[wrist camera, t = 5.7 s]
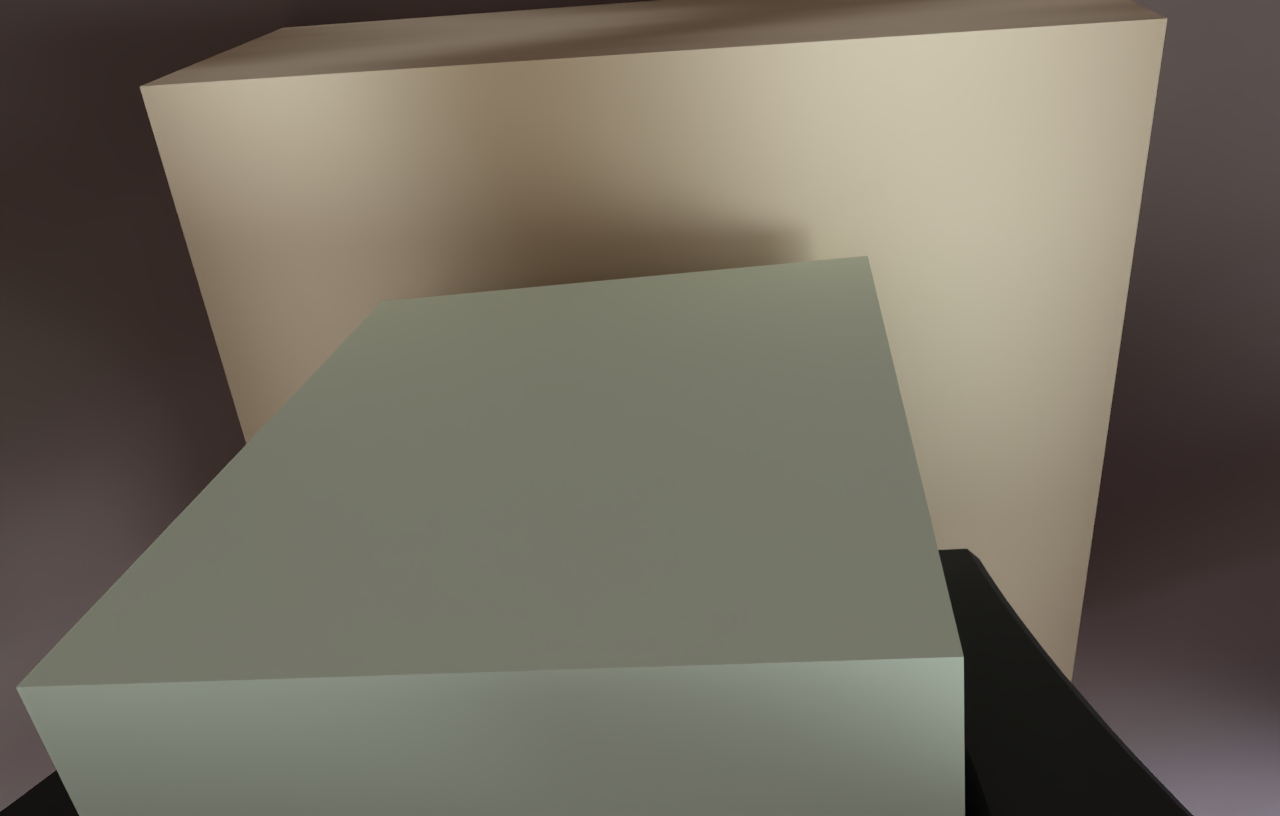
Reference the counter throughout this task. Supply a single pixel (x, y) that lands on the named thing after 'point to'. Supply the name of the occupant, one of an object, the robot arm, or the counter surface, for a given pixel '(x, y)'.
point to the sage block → (544, 576)
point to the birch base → (713, 205)
